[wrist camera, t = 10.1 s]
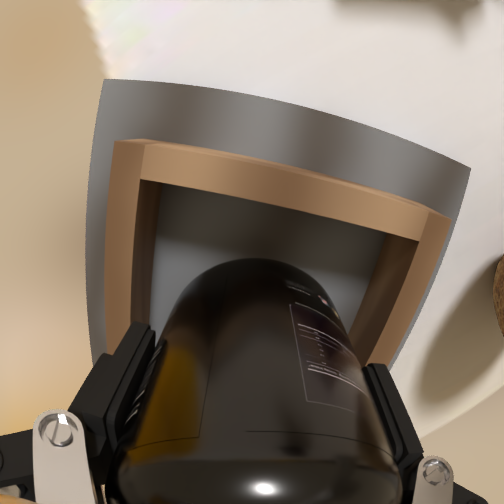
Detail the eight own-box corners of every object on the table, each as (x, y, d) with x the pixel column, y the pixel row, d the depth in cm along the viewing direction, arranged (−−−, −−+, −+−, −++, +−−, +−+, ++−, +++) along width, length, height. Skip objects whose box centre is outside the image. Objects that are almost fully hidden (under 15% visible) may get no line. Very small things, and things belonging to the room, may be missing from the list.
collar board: (458, 165, 13) (508, 178, 10) (350, 414, 20) (362, 459, 16) (114, 82, 13) (69, 69, 9) (101, 370, 19) (78, 411, 15)
